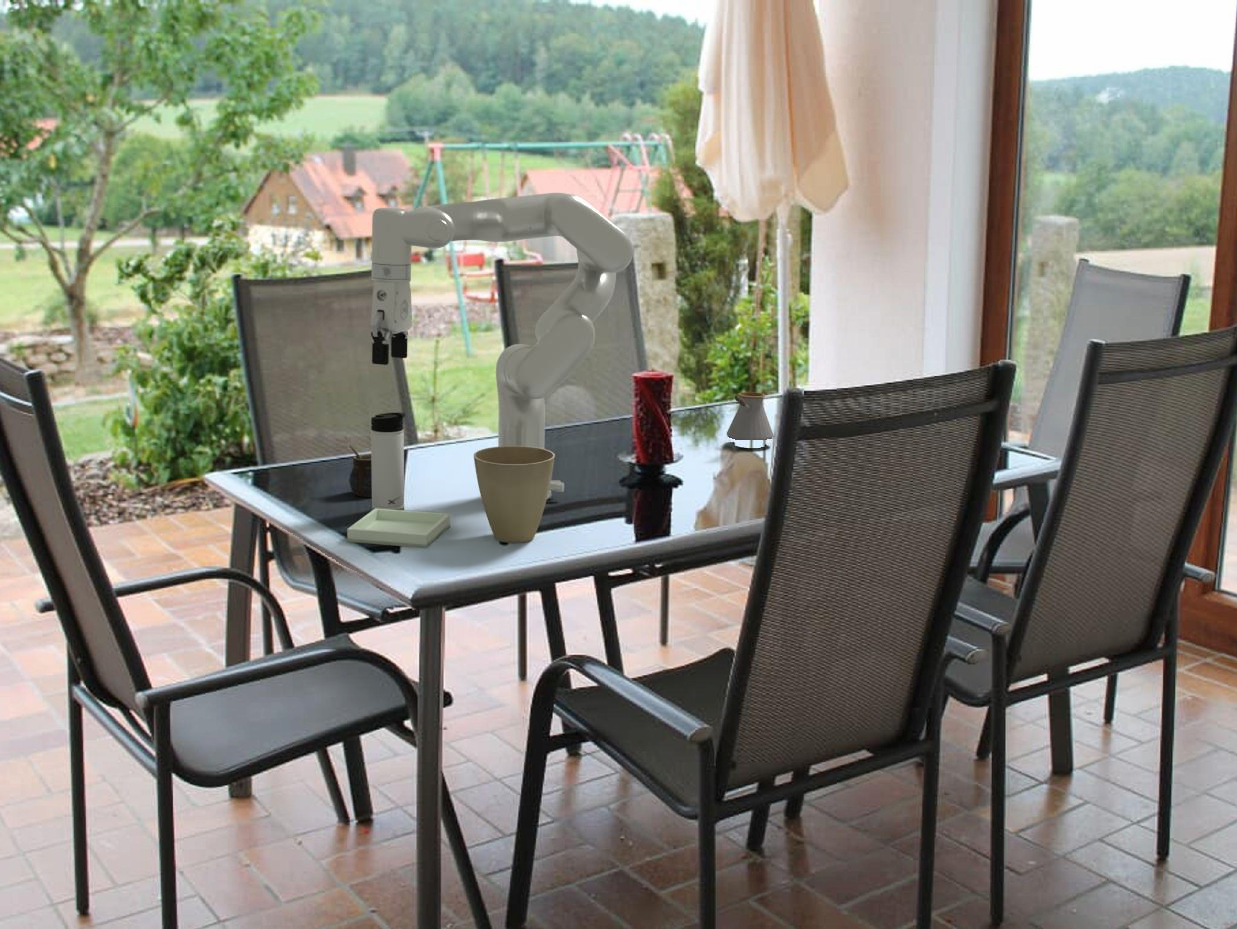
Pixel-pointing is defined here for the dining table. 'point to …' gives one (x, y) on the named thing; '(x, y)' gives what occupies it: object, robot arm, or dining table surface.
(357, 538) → the tray
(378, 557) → the dining table surface
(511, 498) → the plant pot
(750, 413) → the coffee pot
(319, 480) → the dining table surface
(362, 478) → the mate gourd
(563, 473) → the dining table surface
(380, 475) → the travel mug
